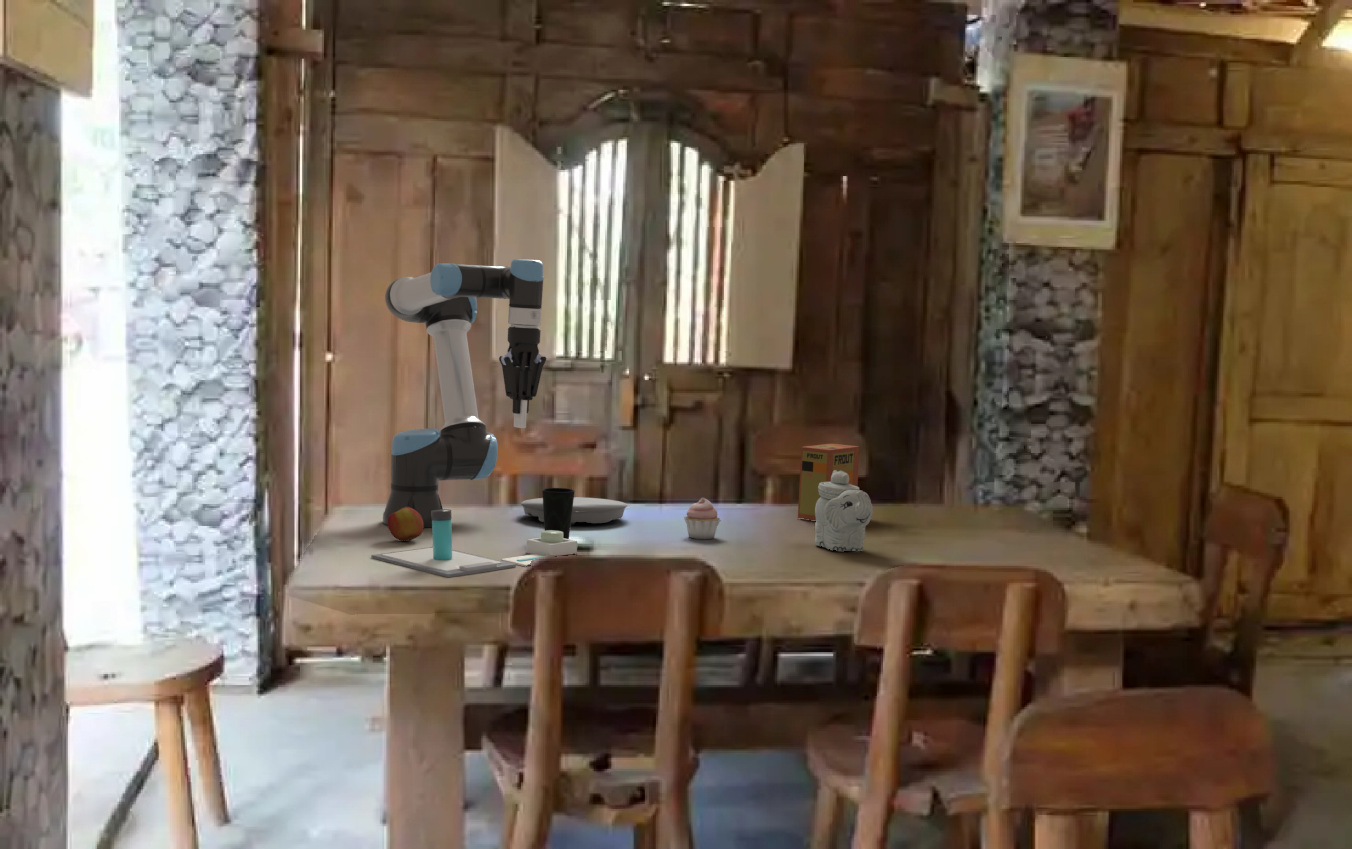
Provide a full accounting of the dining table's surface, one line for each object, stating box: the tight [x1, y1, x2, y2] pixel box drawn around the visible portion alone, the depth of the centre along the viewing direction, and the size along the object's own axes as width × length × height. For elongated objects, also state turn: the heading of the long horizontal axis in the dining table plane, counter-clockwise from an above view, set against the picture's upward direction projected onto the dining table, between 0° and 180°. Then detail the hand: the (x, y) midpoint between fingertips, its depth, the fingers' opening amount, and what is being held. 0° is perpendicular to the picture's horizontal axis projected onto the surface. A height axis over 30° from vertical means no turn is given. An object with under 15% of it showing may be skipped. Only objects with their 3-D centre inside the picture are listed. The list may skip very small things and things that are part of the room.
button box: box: [525, 537, 578, 556], centre depth 299 cm, size 8×8×3 cm
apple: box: [387, 507, 424, 542], centre depth 306 cm, size 8×8×8 cm
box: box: [797, 443, 860, 520], centre depth 368 cm, size 17×9×20 cm, turn 144°
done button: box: [540, 530, 563, 544], centre depth 299 cm, size 5×5×4 cm
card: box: [500, 554, 544, 567], centre depth 289 cm, size 8×10×1 cm
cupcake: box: [683, 497, 722, 540], centre depth 328 cm, size 9×9×10 cm
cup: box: [541, 487, 575, 539], centre depth 316 cm, size 8×8×12 cm
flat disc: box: [520, 496, 629, 526], centre depth 348 cm, size 28×28×4 cm
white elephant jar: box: [814, 470, 874, 552], centre depth 319 cm, size 16×15×19 cm
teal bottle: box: [431, 508, 453, 560], centre depth 283 cm, size 4×4×10 cm
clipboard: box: [370, 546, 517, 578], centre depth 283 cm, size 26×18×1 cm
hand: (519, 427), depth 311 cm, fingers closed
